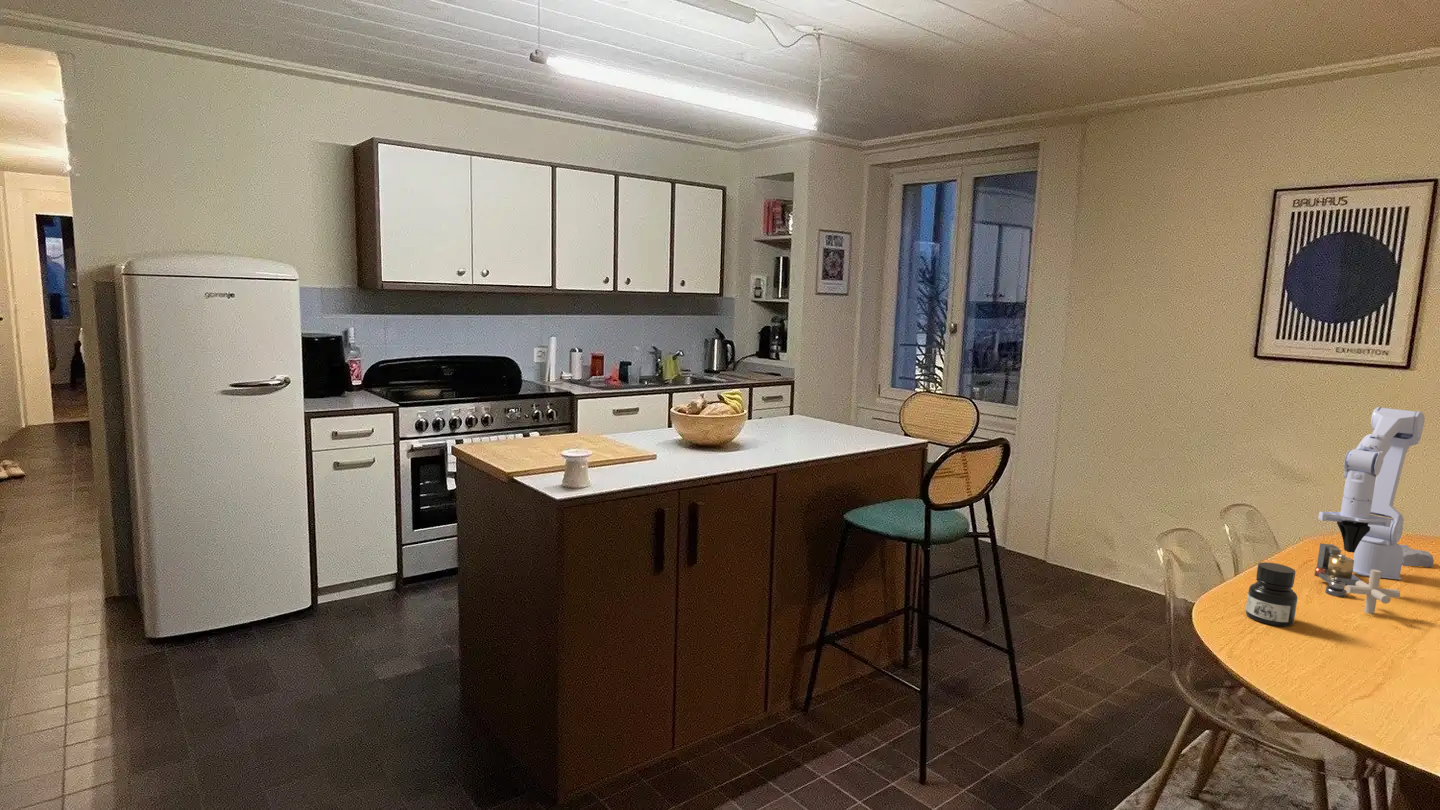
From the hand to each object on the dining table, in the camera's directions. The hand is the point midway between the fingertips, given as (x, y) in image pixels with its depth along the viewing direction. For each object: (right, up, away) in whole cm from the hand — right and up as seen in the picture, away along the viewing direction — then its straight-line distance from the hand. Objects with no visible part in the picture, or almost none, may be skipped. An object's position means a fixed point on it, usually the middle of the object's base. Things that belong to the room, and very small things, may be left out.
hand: (1349, 551), depth 197 cm
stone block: (+34, -8, +26) cm, 44 cm away
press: (+3, -8, +9) cm, 13 cm away
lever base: (-6, -10, -4) cm, 12 cm away
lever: (-5, -8, 0) cm, 9 cm away
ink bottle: (-35, -11, -21) cm, 42 cm away
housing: (+3, -7, +7) cm, 10 cm away
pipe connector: (-7, -12, -15) cm, 20 cm away
